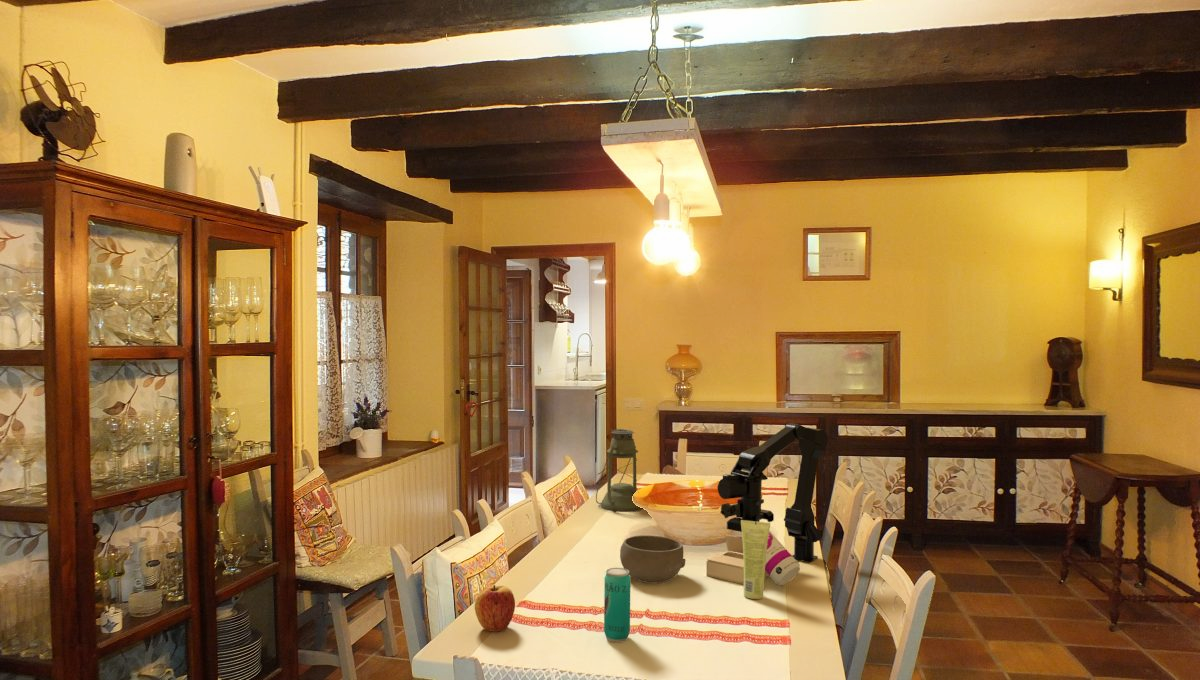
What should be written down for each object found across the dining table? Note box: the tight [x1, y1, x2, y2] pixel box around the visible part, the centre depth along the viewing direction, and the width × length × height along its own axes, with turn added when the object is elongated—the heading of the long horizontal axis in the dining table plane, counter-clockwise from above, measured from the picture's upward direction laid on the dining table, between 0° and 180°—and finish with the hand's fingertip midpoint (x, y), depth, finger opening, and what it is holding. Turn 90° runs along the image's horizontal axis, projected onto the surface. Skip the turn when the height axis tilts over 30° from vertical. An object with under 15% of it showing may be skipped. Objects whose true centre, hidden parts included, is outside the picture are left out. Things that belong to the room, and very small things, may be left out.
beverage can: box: [603, 567, 631, 643], centre depth 169 cm, size 6×6×15 cm
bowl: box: [619, 534, 686, 584], centre depth 211 cm, size 17×18×10 cm
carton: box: [705, 550, 770, 585], centre depth 214 cm, size 12×14×5 cm
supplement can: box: [765, 530, 801, 586], centre depth 208 cm, size 8×8×15 cm
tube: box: [741, 520, 771, 600], centre depth 197 cm, size 6×5×20 cm
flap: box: [725, 534, 743, 554], centre depth 218 cm, size 5×14×1 cm
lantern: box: [595, 428, 642, 513], centre depth 297 cm, size 21×18×30 cm
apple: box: [474, 584, 516, 632], centre depth 174 cm, size 9×9×10 cm
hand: (750, 549), depth 220 cm, fingers closed
